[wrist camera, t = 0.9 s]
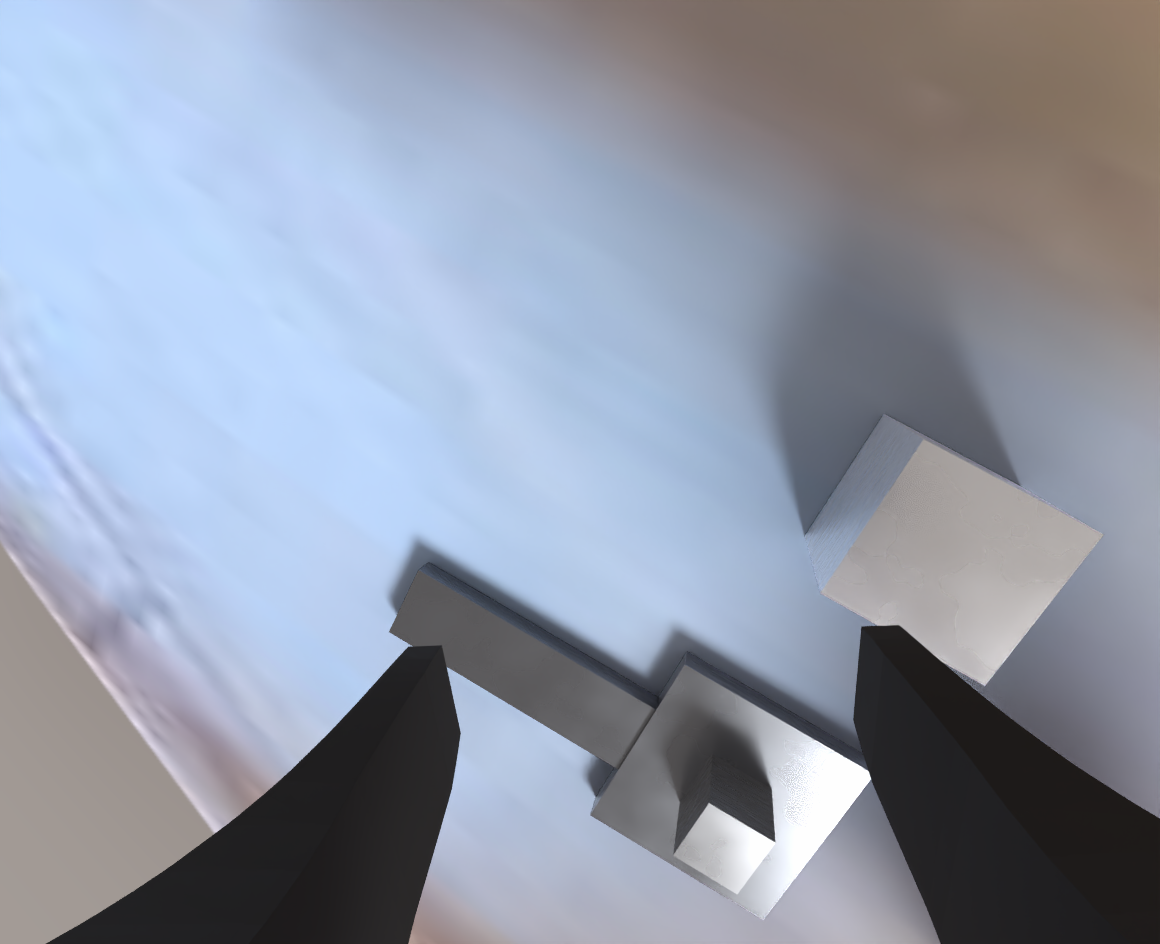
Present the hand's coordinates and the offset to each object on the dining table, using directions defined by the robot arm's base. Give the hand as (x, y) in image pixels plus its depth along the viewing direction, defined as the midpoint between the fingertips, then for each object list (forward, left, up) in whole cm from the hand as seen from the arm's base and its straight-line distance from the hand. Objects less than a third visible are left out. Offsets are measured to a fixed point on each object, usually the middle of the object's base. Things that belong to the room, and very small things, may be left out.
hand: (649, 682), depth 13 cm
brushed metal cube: (-7, -3, -15) cm, 17 cm away
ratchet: (-1, +10, -15) cm, 18 cm away
